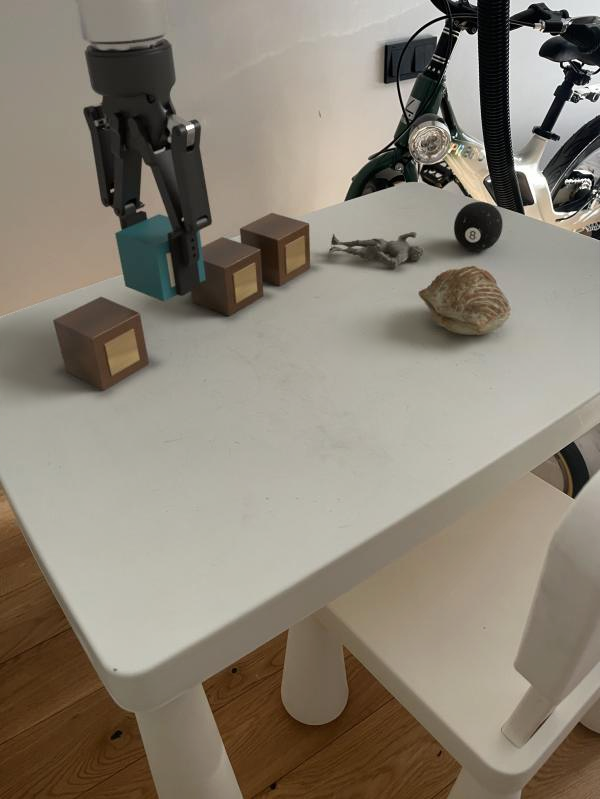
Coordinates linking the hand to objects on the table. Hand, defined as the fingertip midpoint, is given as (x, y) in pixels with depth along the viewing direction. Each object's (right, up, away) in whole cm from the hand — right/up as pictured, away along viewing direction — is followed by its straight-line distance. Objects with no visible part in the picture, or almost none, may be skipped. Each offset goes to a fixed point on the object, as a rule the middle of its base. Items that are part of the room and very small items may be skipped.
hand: (165, 281), depth 77 cm
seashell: (+31, -5, +3) cm, 32 cm away
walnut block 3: (+11, +4, +15) cm, 19 cm away
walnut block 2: (+6, -1, +9) cm, 11 cm away
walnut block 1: (-6, -9, -2) cm, 11 cm away
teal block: (0, 0, 0) cm, 0 cm away
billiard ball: (+37, +7, +19) cm, 42 cm away
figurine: (+24, +6, +17) cm, 30 cm away
